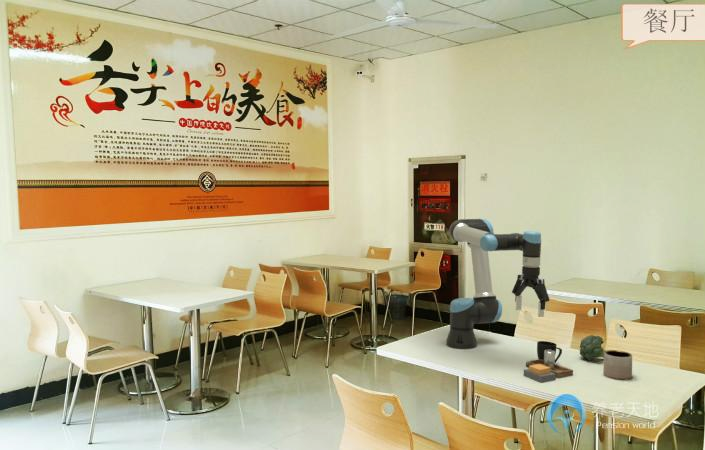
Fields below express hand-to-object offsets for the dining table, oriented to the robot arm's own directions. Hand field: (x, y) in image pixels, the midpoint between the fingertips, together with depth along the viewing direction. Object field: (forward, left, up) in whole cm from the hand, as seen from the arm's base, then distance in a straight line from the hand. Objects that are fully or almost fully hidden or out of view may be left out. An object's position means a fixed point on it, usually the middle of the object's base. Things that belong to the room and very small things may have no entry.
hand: (529, 313), depth 245 cm
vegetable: (+8, +33, -24) cm, 41 cm away
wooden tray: (+10, +2, -23) cm, 26 cm away
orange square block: (+15, -9, -22) cm, 28 cm away
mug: (+3, +9, -24) cm, 26 cm away
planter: (+28, +22, -24) cm, 43 cm away
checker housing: (+15, -9, -23) cm, 29 cm away
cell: (+10, +2, -23) cm, 25 cm away
